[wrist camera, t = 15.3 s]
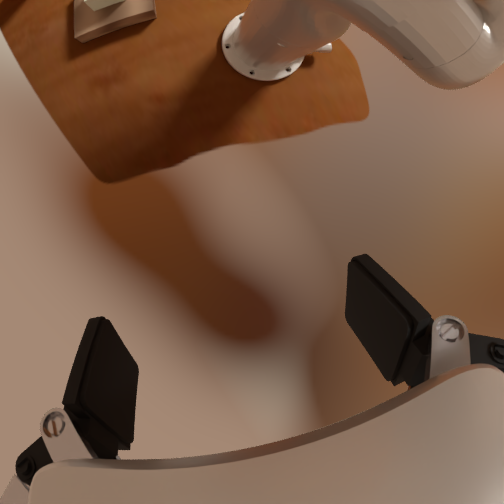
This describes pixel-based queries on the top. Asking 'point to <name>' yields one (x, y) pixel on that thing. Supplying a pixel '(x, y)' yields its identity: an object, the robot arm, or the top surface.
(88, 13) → the walnut block
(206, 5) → the top surface
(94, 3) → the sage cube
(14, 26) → the top surface
